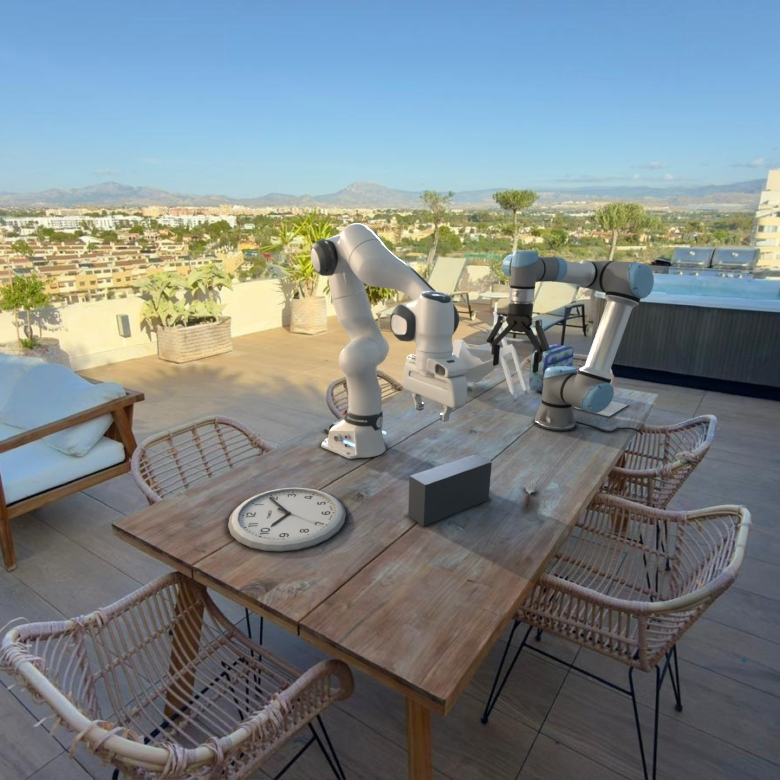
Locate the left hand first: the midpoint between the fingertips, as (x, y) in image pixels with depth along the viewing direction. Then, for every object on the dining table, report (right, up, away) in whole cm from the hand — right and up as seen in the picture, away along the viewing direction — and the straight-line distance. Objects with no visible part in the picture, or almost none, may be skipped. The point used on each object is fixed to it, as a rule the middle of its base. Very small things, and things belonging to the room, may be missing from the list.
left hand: (431, 415), depth 129 cm
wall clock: (-37, -27, +7) cm, 46 cm away
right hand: (+30, +13, +39) cm, 51 cm away
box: (+6, -26, +13) cm, 30 cm away
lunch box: (+66, +7, +121) cm, 138 cm away
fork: (+29, -25, +19) cm, 42 cm away
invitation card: (+81, -1, +97) cm, 126 cm away
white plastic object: (+31, +5, +114) cm, 118 cm away
